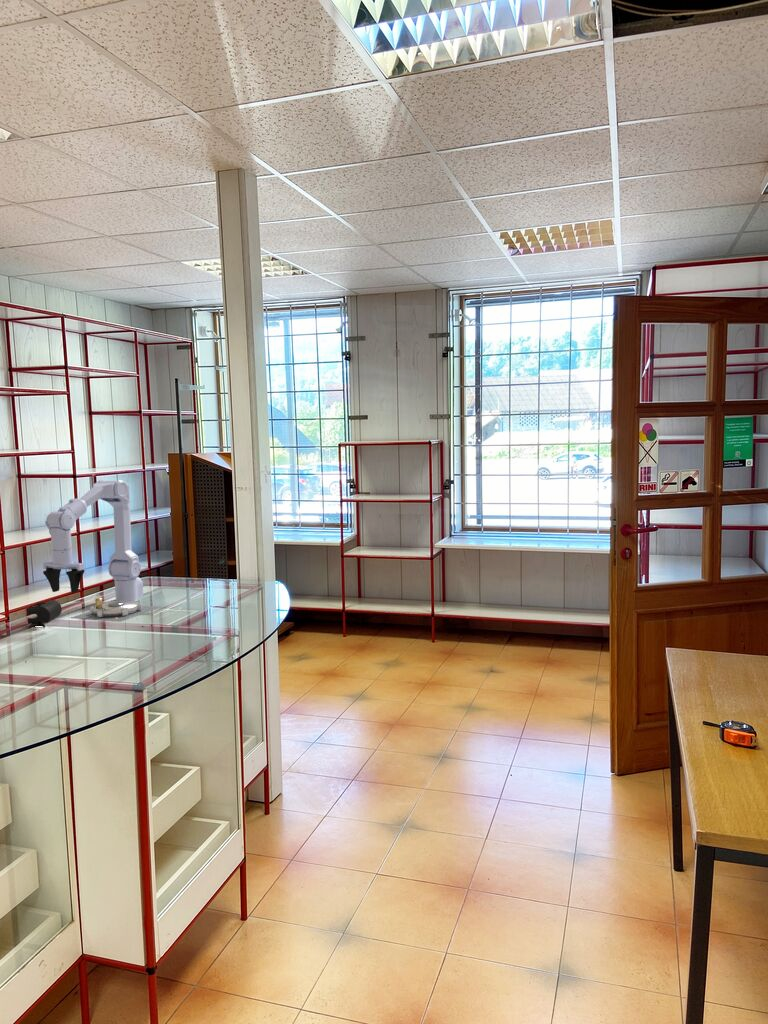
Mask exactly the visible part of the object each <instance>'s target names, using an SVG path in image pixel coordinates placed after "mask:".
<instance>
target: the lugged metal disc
mask: <svg viewBox="0 0 768 1024" xmlns="http://www.w3.org/2000/svg"><path fill="white" fill-rule="evenodd" d="M102 599H103V598H102V597H95V599H94V601H95V604H94V605H93V606H90V611H91V614H93V613H94V615H96V616H97V617H110V616H121V615H122V616H124V615H128V614H131V613H134V612H137V611H138V610H142V606H143V605H142V602H139V601H136V600H125V601H116V600H113V601H111V600H110V601H105V602H103V600H102Z"/></svg>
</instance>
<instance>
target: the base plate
mask: <svg viewBox="0 0 768 1024" xmlns="http://www.w3.org/2000/svg"><path fill="white" fill-rule="evenodd" d="M160 608H161V606H152V605H142V610H138V611H137V612H134V613H131V614H128V615H124V616H122V615H121V616H110V617H97V616H96V615H94V613H93V614H91V610H89V611H88V612H84V613H81V614H77V615H74V616H71V617H70V619H77V620H89V621H90V620H92V621H106V622H124V621H127V620H129V619H132V618H134V617H137V616H140V615H144V614H146V613H149V612H151V611H154V610H157V609H160Z"/></svg>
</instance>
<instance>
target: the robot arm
mask: <svg viewBox="0 0 768 1024" xmlns="http://www.w3.org/2000/svg"><path fill="white" fill-rule="evenodd" d="M98 500H102V501H103V502H106V503H109V505H110V506H112V509H113V525H114V527H113V528H114V531H113V532H114V533H113V534H114V553H112V554H111V556H110V557H109V564H108V569H107V570H108V574H109V576H111V577H112V580H114V590H115V591H114V593H115V601H125V600H134V601H136V600H138V599H140V598H141V599H142V598H143V597H144V583H143V580H142V579H141V578H140V577H139V575H140V573H141V571H142V567H141V564H140V560H139V558H140V557H139V556H138V554H136V553H135V552H134V551H132V531H131V530H132V528H131V501H130V485H129V484H128V483H127V482H125V480H122V479H119V480H103V479H102V480H101V479H100V480H98V481H97V482H95V483H93V485H92V487H91V488H90V489H89V490H88V491H87V492H86V493H85V494H83V495H82V496H81V497H80V498H70V499H68V502H67V503H66V504H64V505H63V506H60V507H59V509H58V510H57V511H56V510H55V511H51V512H49V513H48V515H47V516H46V520H45V523H44V524H45V526H46V528H47V529H48V533H49V535H50V538H51V539H50V541H51V551H52V552H51V553H52V561H47V562H43V563H42V566H43V567H42V569H43V572H42V574H43V575H44V576H45V578H46V579H47V580H48V583H49V585H50V588H51V592H52V593H56V592H59V591H60V577H61V571H62V570H68V571H66V575H67V578H68V580H69V585H70V587H69V588H70V592H71V594H76V593H78V592H79V588H80V585H81V580H82V577H83V575H84V573H85V563H81V562H75V561H74V558H73V557H74V556H73V544H72V543H73V542H72V532H71V529H73V527H74V525H75V522H76V521H77V520H78V519H79V518H81V517H82V516H83V515H84V514H86V513H87V510H88V507H90V506H92V505H93V504H94V503H96V502H98Z"/></svg>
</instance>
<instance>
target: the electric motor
mask: <svg viewBox="0 0 768 1024" xmlns="http://www.w3.org/2000/svg"><path fill="white" fill-rule="evenodd" d="M62 608H63V607H62V605H61V604H60V602H59V601H58V600H54V599H50V600H48V601H45V602H44V601H42V602H36V603H34V605H33V606H32V605H31V606H29V607H28V608H26V615H27V616H28V615H36V617H28V618H27V624H29V625H28V628H29V627H35V626H44V627H46V626H45V625H46V624H47V623H50V622H51V621H53V620H54V619H55V618H58V617H59V616H60V615H61V613H62Z"/></svg>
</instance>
